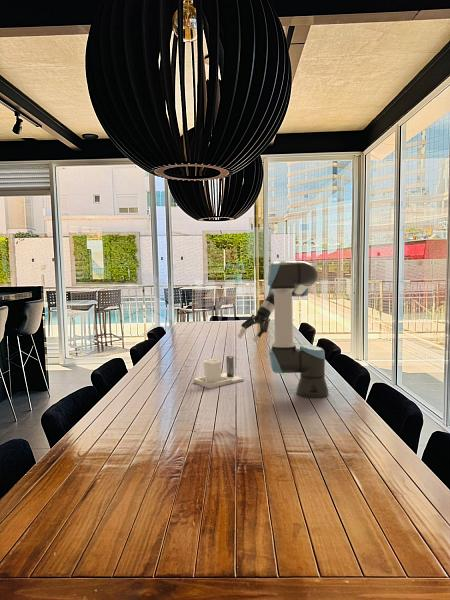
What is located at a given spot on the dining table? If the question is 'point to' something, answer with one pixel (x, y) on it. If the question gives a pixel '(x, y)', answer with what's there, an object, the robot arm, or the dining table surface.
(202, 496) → the dining table surface
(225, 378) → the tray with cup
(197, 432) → the dining table surface
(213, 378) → the candle holder
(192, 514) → the dining table surface
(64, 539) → the dining table surface
